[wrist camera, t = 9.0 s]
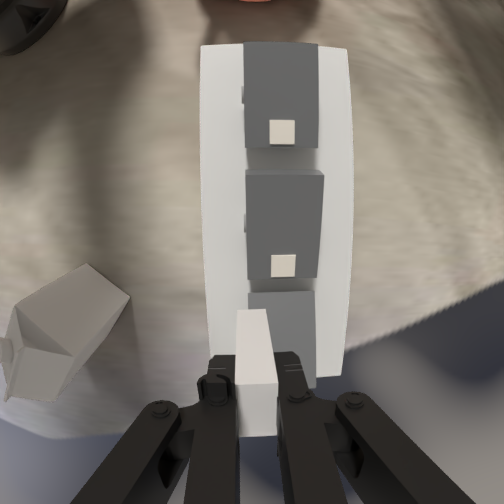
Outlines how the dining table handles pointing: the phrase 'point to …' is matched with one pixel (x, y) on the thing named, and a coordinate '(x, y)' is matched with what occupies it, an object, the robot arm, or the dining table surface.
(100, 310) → the milk carton
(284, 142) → the plate
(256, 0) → the teapot
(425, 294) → the dining table surface
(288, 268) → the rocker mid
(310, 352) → the rocker
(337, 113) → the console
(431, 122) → the dining table surface
